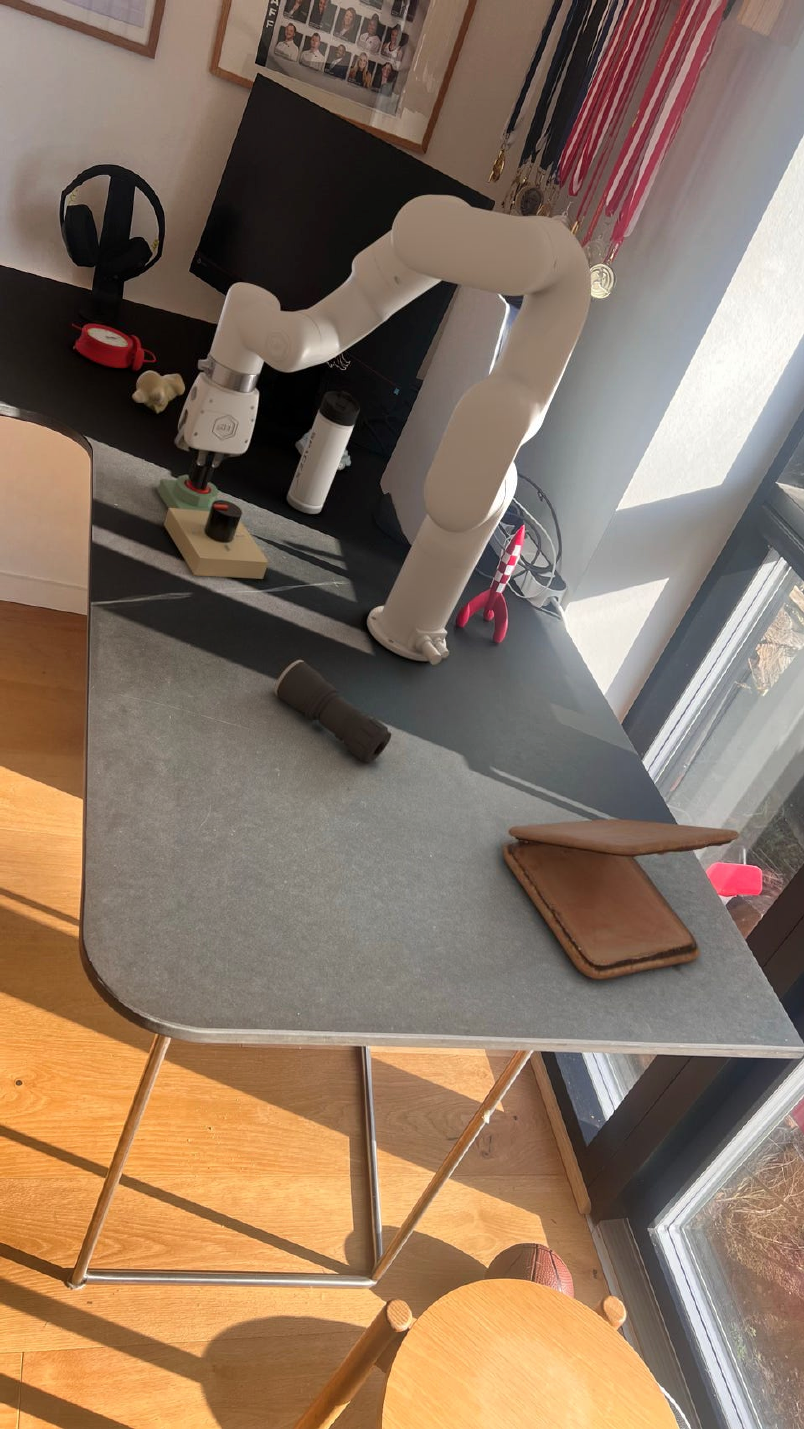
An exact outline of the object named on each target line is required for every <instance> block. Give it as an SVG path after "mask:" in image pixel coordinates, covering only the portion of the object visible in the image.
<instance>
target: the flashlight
mask: <svg viewBox="0 0 804 1429" xmlns="http://www.w3.org/2000/svg"><path fill="white" fill-rule="evenodd" d="M280 674H281V675H279V678H278V679H277V681H276V683H275V686H274V690H273V691H274V694H275V695H276V696H277V697H278V698H280V699H281V700H283V702H285V703H286V704H288V706H290V707H291V708H293V709H294V710H297V711H299V712H302V714H303V715H305V716H306V717H307V718H308V719H310V720H311V721H318V722H319V724H321V725H322V726H323V727H324V728H325V729H327V730H328V731H330V732H331V733H332V734H333V735H334V737H335V738H336V739H338V740H339V741H341V742H342V744H343V745H345V746H346V747H347V748H348V751H349V752H350V753H351V754H352V755H354V756H355V757H356V758H358V759H359V760H360V761H362V762H363V761H365V762H366V763H368V764H370V763H372V762H373V761H374V760H376V759H377V758H378V757H379V756H380V755H381V754H382V753H383V751H384V750H385V749H386V747H387V746H388V744H389V742H390V740H391V738H392V733H391V732H390V731H389V730H388V727H387V726H386V725H385V724H384V723H382V722H381V721H379V720H378V719H377V718H376V717H373V718H372V717H371V716H370V715H368V714H366V713H365V714H364V712H363V710H361V709H360V708H359V707H356V706H354V705H352V703H350V702H349V701H348V700H346V699H345V698H344V697H342V696H341V695H338V691H337V688H336V687H333V685H331V684H330V683H329V682H327V681H326V680H325V679H324V678H323V676H322V675H321V674H320V672H318V671H317V670H315V669H314V668H313V667H312V666H310V665H309V664H308V663H306V662H305V661H304V660H302V659H298V660H295V661H293V662H292V663H291V664H290V665H289V666H287V667H286V668H285V669H284V670H283V672H282V673H280Z"/></svg>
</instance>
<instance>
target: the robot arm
mask: <svg viewBox="0 0 804 1429" xmlns="http://www.w3.org/2000/svg"><path fill="white" fill-rule="evenodd" d="M442 281H444V282H448V283H452V284H456V285H460V286H464V287H468V288H472V289H475V290H480V291H483V292H488V293H492V294H496V295H502V296H510V297H519V296H523V298H522V302H521V306H520V308H519V310H518V313H517V314H516V315H515V318H514V320H513V322H512V323H511V325H510V328H509V330H508V332H507V334H506V337H505V340H504V341H503V345H502V348H501V350H500V352H499V354H498V357H497V359H496V361H495V363H494V365H493V368H492V369H491V371H490V373H489V374H488V375H487V376H485V378H483V379H481V380H479V381H477V382H475V383H474V384H473V385H471V386H470V387H469V388H468V389H467V390H466V391H465V392H464V393H463V395H461V397H460V399H459V400H458V402H457V404H456V405H455V407H454V408H453V411H452V413H451V416H450V418H449V421H448V424H447V425H446V428H445V431H444V433H443V436H442V437H441V440H440V442H439V445H438V447H437V450H436V452H435V455H434V457H433V460H432V462H431V464H430V467H429V469H428V472H427V475H426V478H425V481H424V485H423V494H422V496H423V498H422V499H423V505H424V509H425V511H426V515H425V516H424V520H423V521H422V523H421V526H420V527H419V529H418V532H417V534H416V536H415V538H414V540H413V542H412V545H411V547H410V548H409V551H408V553H407V555H406V558H405V559H404V561H403V564H402V567H401V568H400V571H399V573H398V575H397V577H396V580H395V582H394V584H393V586H392V588H391V591H390V592H389V595H388V597H387V599H386V601H385V604H384V605H380V606H377V607H374V608H373V609H372V610H371V611H370V612H369V614H368V616H367V619H366V625H367V628H368V631H369V632H370V634H371V635H372V637H373V638H374V639H375V640H376V641H377V642H378V643H379V644H381V645H382V646H383V647H384V648H386V649H387V650H389V651H391V652H393V653H394V654H396V655H399V656H400V657H403V658H406V659H408V660H413V661H419V662H428V663H430V665H432V666H435V665H438V664H439V663H441V661H442V659H446V658H448V657H449V656H450V651H449V650H448V648H447V642H446V636H447V634H448V631H447V630H446V629H445V627H446V625H447V623H448V621H449V619H450V617H451V615H452V613H453V611H454V610H455V607H456V605H457V604H458V602H459V599H460V598H461V596H462V593H463V592H464V589H465V587H466V586H467V584H468V582H469V580H470V578H471V576H472V574H473V572H474V570H475V569H476V568H475V567H476V566H477V565H478V563H479V560H480V558H481V557H482V555H483V553H484V551H485V549H486V547H487V545H488V543H489V541H490V539H491V537H492V536H493V534H494V533H495V530H496V529H497V527H498V525H499V524H500V522H501V520H502V518H503V517H504V515H505V513H506V512H507V510H508V508H509V506H510V504H511V503H512V500H513V498H514V497H515V493H516V490H517V485H518V471H517V467H516V464H515V462H514V461H515V459H516V456H517V454H518V452H519V450H520V448H521V447H522V446H523V445H524V444H526V443H527V442H529V440H530V439H532V438H533V437H534V436H536V434H537V432H539V430H540V428H541V427H542V425H543V422H544V420H545V416H546V414H547V412H548V410H549V407H550V404H551V402H552V400H553V398H554V396H555V394H556V391H557V389H558V387H559V385H560V382H561V379H562V378H563V375H564V373H565V371H566V368H567V366H568V364H569V361H570V358H571V357H572V354H573V352H574V349H575V347H576V345H577V342H578V340H579V338H580V336H581V333H582V331H583V328H584V325H585V322H586V320H587V316H588V314H589V313H588V312H589V309H590V304H591V298H592V275H591V269H590V264H589V261H588V258H587V256H586V253H585V251H584V249H583V246H582V245H581V244H580V242H579V239H577V237H576V236H575V235H574V233H573V232H572V231H571V230H570V228H568V227H567V226H565V225H564V224H563V223H562V222H560V221H558V220H556V219H554V218H552V217H549V216H545V215H523V216H522V215H520V216H519V215H513V214H507V213H503V212H498V211H493V210H487V209H483V208H478V207H474V206H471V205H470V204H469V202H467V201H465V200H463V199H462V198H460V197H457V196H455V195H448V194H425V195H424V194H423V195H419V196H417V197H414V198H413V199H411V200H409V201H408V202H406V203H405V204H404V205H403V206H402V207H401V209H400V210H398V212H397V215H396V216H395V218H394V220H393V222H392V226H391V229H390V230H389V231H388V232H387V233H385V234H384V235H383V236H380V238H378V239H377V240H376V241H374V242H373V243H371V244H370V245H369V246H367V247H366V248H364V249H363V250H362V251H360V252H359V253H358V254H357V255H355V257H354V258H353V260H352V262H351V273H350V274H349V277H348V278H347V279H346V280H345V281H344V282H343V283H342V284H341V285H340V286H339V287H338V288H336V289H335V290H334V291H332V292H331V293H329V294H328V295H326V296H325V297H324V298H323V299H321V300H320V301H318V302H317V303H316V304H314V305H312V306H310V307H309V308H307V309H299V310H295V311H284V310H281V304H280V301H279V300H278V298H277V297H276V296H275V295H274V294H272V292H271V291H268V290H267V289H265V288H263V287H261V286H258V285H255V284H252V283H249V282H236V283H233V284H232V285H231V286H230V287H229V289H228V291H227V293H226V297H225V300H224V304H223V306H222V309H221V314H220V317H219V320H218V324H217V327H216V329H215V330H216V331H215V333H214V336H213V341H212V344H211V347H210V351H209V353H208V354H207V356H206V357H207V358H206V359H199V360H198V362H197V369H198V370H200V372H199V374H198V375H197V377H196V379H195V380H194V383H193V384H192V386H191V388H190V390H189V393H188V395H187V397H186V400H185V402H184V405H183V408H182V411H181V413H180V416H179V419H178V425H177V431H178V433H177V434H176V436H175V438H174V440H173V441H174V442H173V443H174V444H175V446H176V447H177V448H178V449H181V450H183V451H185V452H189V453H190V456H192V461H191V465H190V468H189V470H188V474H187V475H188V477H189V480H190V481H191V483H192V484H193V486H194V487H195V489H199V488H201V489H202V490H206V487H207V484H208V483H209V482H210V483H211V480H212V476H213V473H214V470H215V468H217V467H219V466H220V464H221V462H223V461H224V460H227V459H228V458H231V457H232V458H233V457H240V456H242V455H243V454H245V453H246V451H248V448H249V446H250V443H251V439H252V436H253V432H254V428H255V424H256V419H257V414H258V407H259V399H260V398H259V397H260V391H259V390H258V389H257V384H258V381H259V378H260V375H261V371H262V368H263V366H264V363H266V364H267V365H268V366H270V367H271V368H272V369H274V370H276V371H278V372H282V373H294V372H297V371H301V370H305V369H307V368H310V367H314V366H317V365H320V364H321V365H322V364H324V363H327V362H328V361H331V360H332V359H333V358H335V357H337V356H338V355H340V354H341V353H343V352H344V351H346V350H347V349H349V348H351V347H352V346H353V345H355V344H357V343H358V342H359V341H361V340H362V339H363V338H365V337H366V336H367V335H369V334H370V333H372V332H373V331H374V330H375V329H376V328H378V327H379V326H380V325H381V324H383V323H384V322H386V321H387V320H388V319H389V318H390V317H391V316H392V315H394V314H395V313H396V312H398V311H399V310H401V309H402V308H404V307H405V306H406V305H408V304H409V303H411V302H412V301H413V300H415V299H417V298H418V297H420V296H421V295H422V294H424V293H425V292H426V291H428V290H430V289H432V288H433V287H434V286H436V285H437V284H439V283H441V282H442ZM202 371H203V372H202Z"/></svg>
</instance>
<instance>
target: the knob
mask: <svg viewBox="0 0 804 1429" xmlns="http://www.w3.org/2000/svg"><path fill="white" fill-rule="evenodd" d="M242 515H243V511H242V509H241V508H240V507H239V505H236V504H235V503H233V502H230V501H228V500H223V499H218V500H216V501H214V502H213V503H212V506H211V510H210V513H209V516H208V519H207V522H206V525H205V528H204V532H205V534H206V535H207V536H208V537H210V538H211V539H213V540H215V541H218V542H223V543H228V542H231V541H232V540H233V538H234V536H235V533H236V530H237V527H238V524H239V521H241V518H242Z"/></svg>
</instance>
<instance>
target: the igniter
mask: <svg viewBox="0 0 804 1429" xmlns="http://www.w3.org/2000/svg"><path fill="white" fill-rule="evenodd" d="M187 480H189V477H188V474H184V475H180V476H177V478H176V479H167V478H160V480H159V484H158V489H157V493H158V495H159V496H160V497H161V499H162V501H163V502H164V504H165V506H166V507H167V510H168V509H169V508H178V509H188V510H199V511H210V510H211V506H212V503H213V502H214V501H216V500H219V498H218V496H219V492H220V491H219V490H218V487H217V486H216V485H215V484H213V483H211V481H210V482H209V483H208V484H207V485H208V486H209V492H208V494H202V493H197V492H195V491H192V490H190V489H189V488H187V487H186V482H187Z"/></svg>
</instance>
